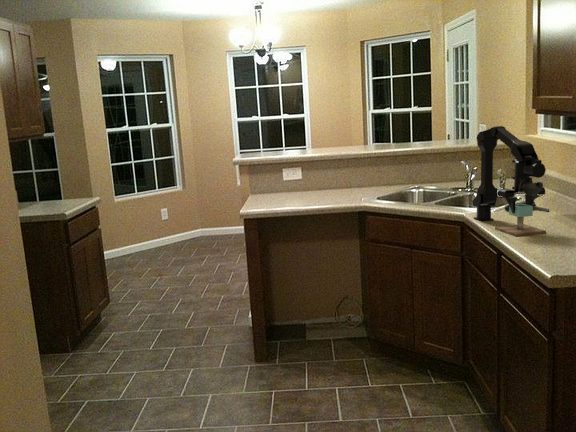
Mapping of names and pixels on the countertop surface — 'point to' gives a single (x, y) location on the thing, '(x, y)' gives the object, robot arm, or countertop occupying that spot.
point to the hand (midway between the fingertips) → (520, 212)
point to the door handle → (532, 205)
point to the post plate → (520, 229)
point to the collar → (522, 210)
